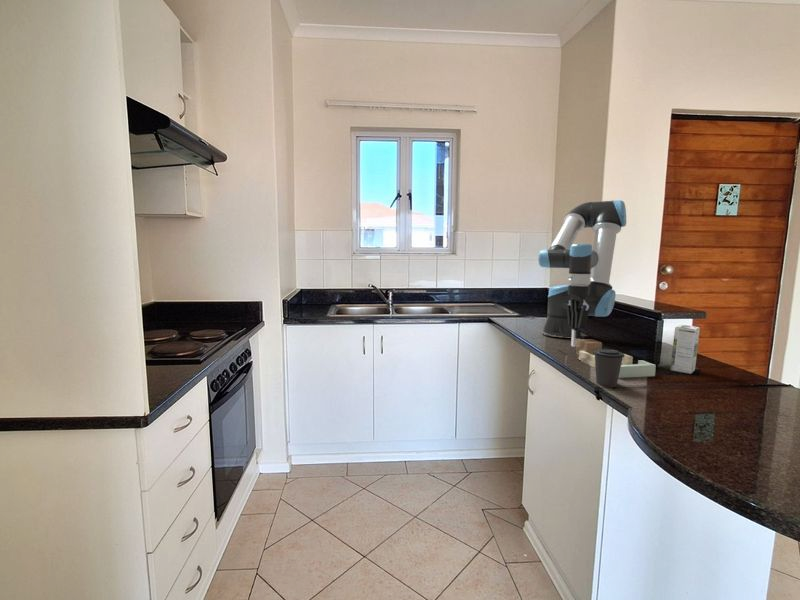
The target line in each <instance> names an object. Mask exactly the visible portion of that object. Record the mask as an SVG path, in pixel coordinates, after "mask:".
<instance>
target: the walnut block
mask: <svg viewBox="0 0 800 600" xmlns="http://www.w3.org/2000/svg"><path fill="white" fill-rule="evenodd" d="M598 349H603V342H602V341H599V340H595V339H593V338H587V339H585V338H582V339H581V338H580V339H578V340H577V346H576V349H575V350H576V351H575V355H576V354H578V355H579V351H585V352H588V353H590V354H592V355H595V354H594V353H593V352H594V351H595V350H598Z"/></svg>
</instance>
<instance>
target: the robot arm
mask: <svg viewBox="0 0 800 600" xmlns="http://www.w3.org/2000/svg"><path fill="white" fill-rule="evenodd" d="M626 209H627V208H626V204H625V202H624V201H623V200H621V199H620V200H614V199H613V200H603V201H588V202H583V203H581V204H579V205H577V206H575V207H574V208H572V209H571V210H570V211H568V213H567V214H566V215H565V216H564V218H563V221H562V226H561V228H560V230H559V231H558V233H557V235H555V237H554V240H553V241H552V243H551V245H550V246H549V249H548V248H547V249H542V250H540V251H539V254H538V265H539V266H540V267H541V268H546V269H547V268H548V269H569V270H568V276H567V277H568V284H564V285H563V284H561V285H554V286H553V285H552V286H551V287H550V288H549V289H548V295H547V316H546V320H545V323H544V325H543V328H542V333H543V332H545V333H548V334H551V335H556V336H563V337H571V339H570V340H571V342H570V346H571V347H573V348H575V347H576V346H577V340H578V339H581V337H582V335H581V334H582V330H586V326H587V322H588V318H589V316H590V317H591V316H592V317H608V316H609V315H610V314H611V313H612V311H613V309H614V306H615V302H616V296H617V295H616V293H617V292H616V291H615V290H614V289H613V285H612V284H610V279H611V272H612V266H613V265H612V264H613V261H614V259H613V258H614V252H615V246H616V241H617V240H616V239H617V234H619V233H621V230H622V227H623V228H624V227H626V226H627V210H626ZM585 228H592V231H593V232H594V238H593V243H592V244H591V243H590V244H589V243H574V242H575V240H576V238H577V236H578V234H579V232H581V231H582V230H584V229H585Z"/></svg>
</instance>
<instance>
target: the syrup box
mask: <svg viewBox="0 0 800 600" xmlns="http://www.w3.org/2000/svg"><path fill="white" fill-rule="evenodd" d="M700 329H701V328H700V327H698V326H695V325H687V324H678V325H677V326H675V327H674V332H673V333H674V335H673V343H672V344H673V345H672V353H671V360H670V361H671V363H670V371H673V372H677V373H685V374H691V375H692V374H693V373H694V372H695V371H696V366H697V365H696V364H697V356H698V349H699V348H698V347H699V337H700Z"/></svg>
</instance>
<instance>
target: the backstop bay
mask: <svg viewBox="0 0 800 600" xmlns="http://www.w3.org/2000/svg"><path fill="white" fill-rule="evenodd" d="M656 367H657V366H656V364H654V363H651V362H648V361H646V360H642V359H641V360H639V359H638V360H637V363H635V364H634V363H633V364H632V365H621V368H620V373H619V378H620V379H622V378H640V377H641V378H642V377H656ZM619 378H618V379H619Z"/></svg>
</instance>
